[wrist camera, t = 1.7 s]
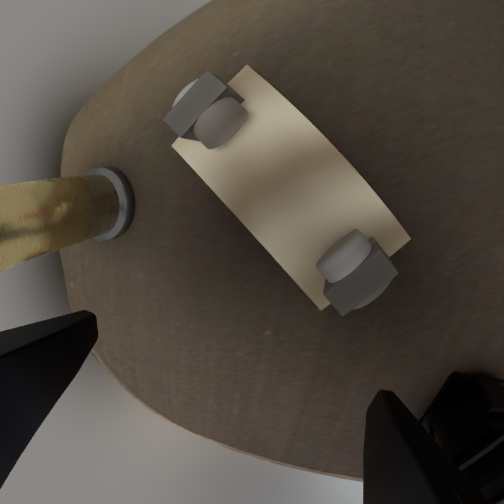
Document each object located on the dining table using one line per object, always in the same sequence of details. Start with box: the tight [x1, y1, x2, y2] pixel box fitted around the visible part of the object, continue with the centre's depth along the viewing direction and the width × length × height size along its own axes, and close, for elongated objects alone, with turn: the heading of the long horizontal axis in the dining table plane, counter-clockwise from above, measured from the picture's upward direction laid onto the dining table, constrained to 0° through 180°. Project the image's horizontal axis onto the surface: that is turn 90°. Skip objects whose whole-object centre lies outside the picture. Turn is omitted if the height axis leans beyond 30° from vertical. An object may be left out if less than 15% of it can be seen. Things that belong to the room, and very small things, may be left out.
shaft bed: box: [163, 65, 411, 317], centre depth 16 cm, size 15×7×4 cm, turn 44°
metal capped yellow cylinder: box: [0, 167, 135, 271], centre depth 16 cm, size 6×6×13 cm
